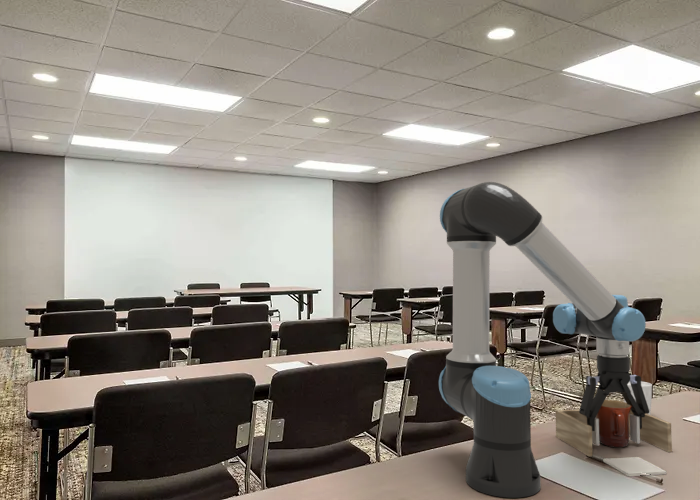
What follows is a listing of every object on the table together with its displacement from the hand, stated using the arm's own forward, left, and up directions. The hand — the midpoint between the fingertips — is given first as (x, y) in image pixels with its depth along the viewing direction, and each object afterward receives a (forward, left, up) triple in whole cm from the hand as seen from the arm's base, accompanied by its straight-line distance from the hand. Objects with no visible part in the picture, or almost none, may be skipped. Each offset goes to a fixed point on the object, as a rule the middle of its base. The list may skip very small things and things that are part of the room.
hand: (615, 442), depth 132 cm
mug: (0, 0, -1) cm, 1 cm away
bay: (0, +2, -1) cm, 2 cm away
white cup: (+24, +24, -1) cm, 34 cm away
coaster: (-5, -14, -1) cm, 15 cm away
